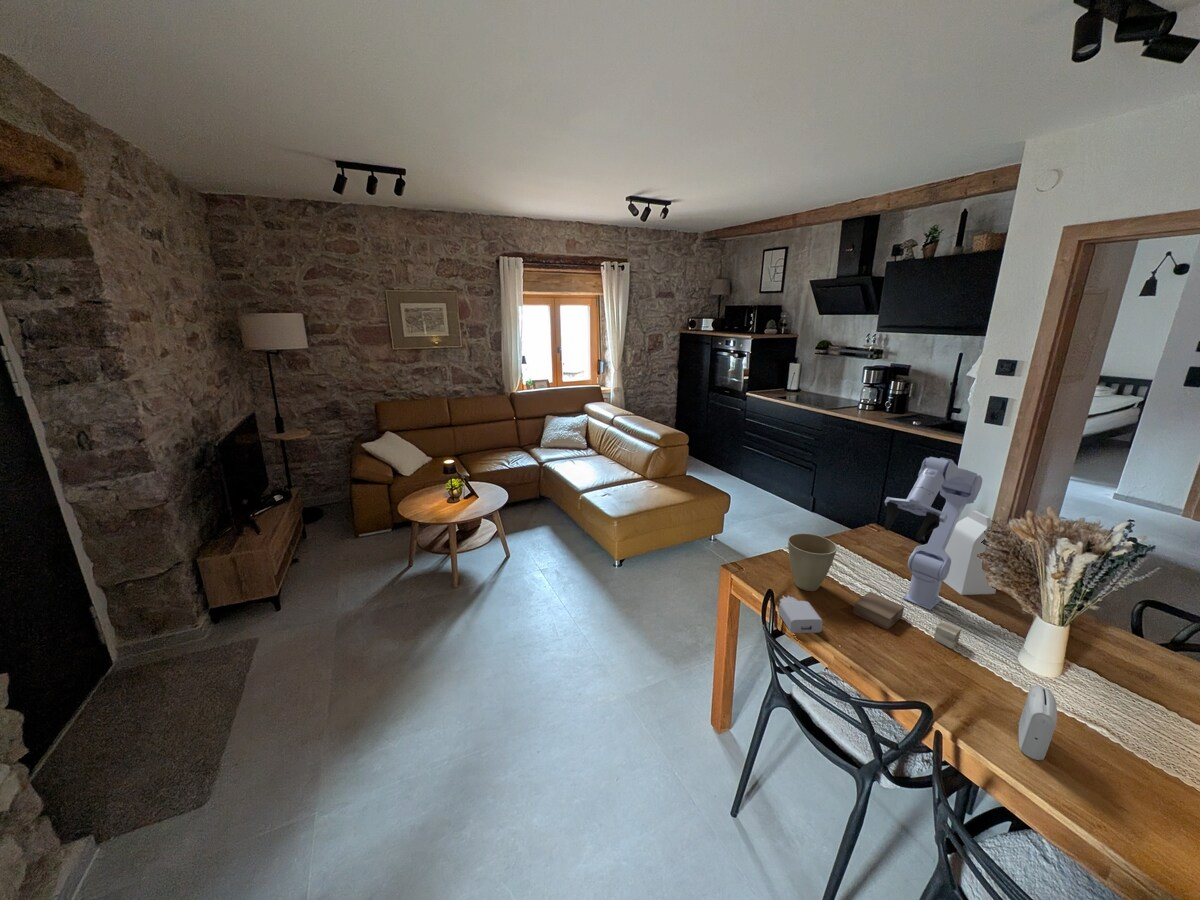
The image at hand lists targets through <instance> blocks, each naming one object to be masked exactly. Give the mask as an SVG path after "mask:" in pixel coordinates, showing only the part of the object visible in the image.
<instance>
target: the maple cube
mask: <svg viewBox="0 0 1200 900" xmlns="http://www.w3.org/2000/svg"><path fill="white" fill-rule="evenodd" d="M961 632H962V627H959V626H957V625H954V624H952V623H949V622H948V621H946V620H945V621H944V620H942V621H940V623H939V624H938V625H937V626H936V629H935V632H934V636H933V641H935V642H938V643H939V644H941V645H944V646H946V647H948V648H950V649H954V648H955V646H956V645H957V644H958V642H959V640H960V636H961Z"/></svg>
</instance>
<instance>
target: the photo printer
mask: <svg viewBox="0 0 1200 900" xmlns="http://www.w3.org/2000/svg"><path fill="white" fill-rule="evenodd" d="M1057 722H1058V706H1057V702H1056V698H1055V695H1054V694H1053V693H1052V691H1051V690H1050V689H1049V688H1048V687H1044V686H1042V685H1039V684H1036V685H1033V686H1031V687H1030V689H1029V691H1028V693H1027V697H1026V700H1025V703H1024V706H1023V709H1022V712H1021V715H1020V718H1019V722H1018V746H1019V751H1021V752H1022V753H1023V754H1024V755H1025V756H1027V757H1028V758H1030V759H1033V760H1036V761H1044V760H1045V757H1046V755H1047V753H1048V749H1049V747H1050V744H1051V742H1052V737H1053V735H1054V732H1055V730H1056V726H1057V724H1058V723H1057Z"/></svg>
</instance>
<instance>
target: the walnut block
mask: <svg viewBox="0 0 1200 900" xmlns="http://www.w3.org/2000/svg"><path fill="white" fill-rule="evenodd" d="M853 604H854V605H853V609H852V613H853V614H854V615H856V616H858V617H860V618H862V619H865V620H866V621H868V622H871V623H872V624H875V625H877V626H879V627H881V628H883V629H885V630H889V629H890V628H891V627H893V626H894V625H895V624H896V623H897V622H898V621H899V620H901V619H902V618H903V615H904V611H905V606H904V605H902V604H900V603H897V602H895V601H892V600H890V599H888V598H885V597H884V596H881V595H878V594H877V593H874V592H872V591H869V592H867V593H865V594H864V595H863V596H862V597H860V598H859V599H858V600H856V601H855V602H854V603H853Z"/></svg>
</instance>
